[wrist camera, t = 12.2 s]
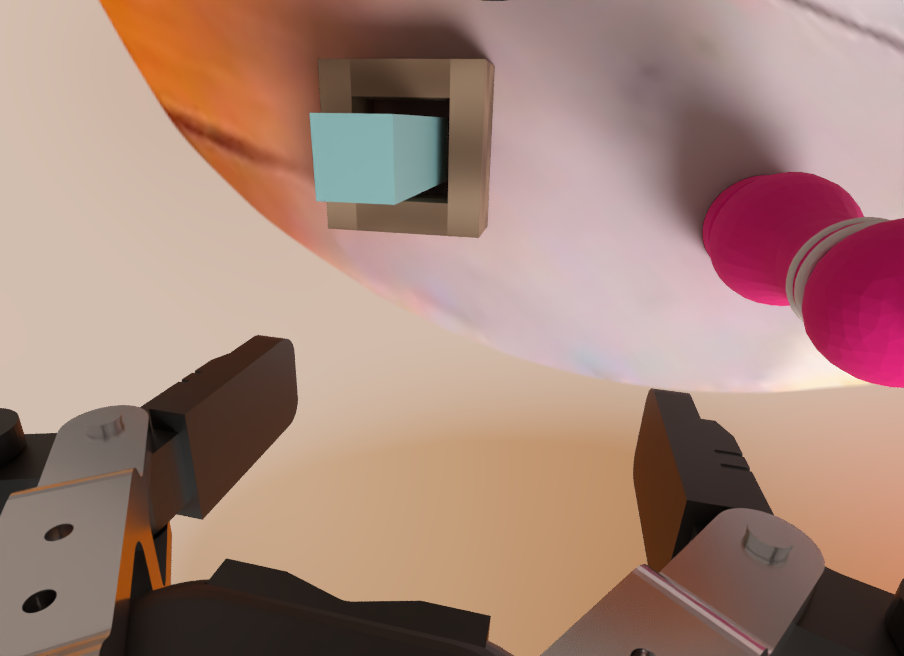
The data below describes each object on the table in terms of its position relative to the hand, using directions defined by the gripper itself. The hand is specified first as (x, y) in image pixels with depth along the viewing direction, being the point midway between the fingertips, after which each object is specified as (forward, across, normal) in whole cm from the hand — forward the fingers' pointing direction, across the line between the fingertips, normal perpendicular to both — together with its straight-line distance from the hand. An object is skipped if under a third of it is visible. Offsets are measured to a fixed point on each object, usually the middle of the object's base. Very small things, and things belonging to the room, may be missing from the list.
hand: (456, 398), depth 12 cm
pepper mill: (+26, -14, 0) cm, 30 cm away
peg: (+26, +8, -4) cm, 28 cm away
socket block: (+26, +8, -4) cm, 28 cm away
